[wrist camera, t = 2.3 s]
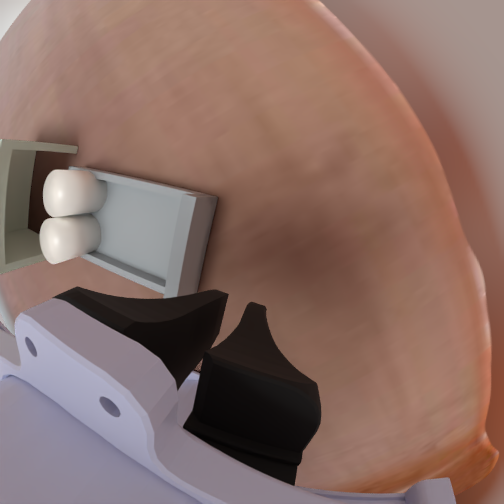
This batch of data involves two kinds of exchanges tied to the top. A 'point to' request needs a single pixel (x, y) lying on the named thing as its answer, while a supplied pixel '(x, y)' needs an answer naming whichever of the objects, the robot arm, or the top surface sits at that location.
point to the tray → (128, 227)
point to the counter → (19, 202)
